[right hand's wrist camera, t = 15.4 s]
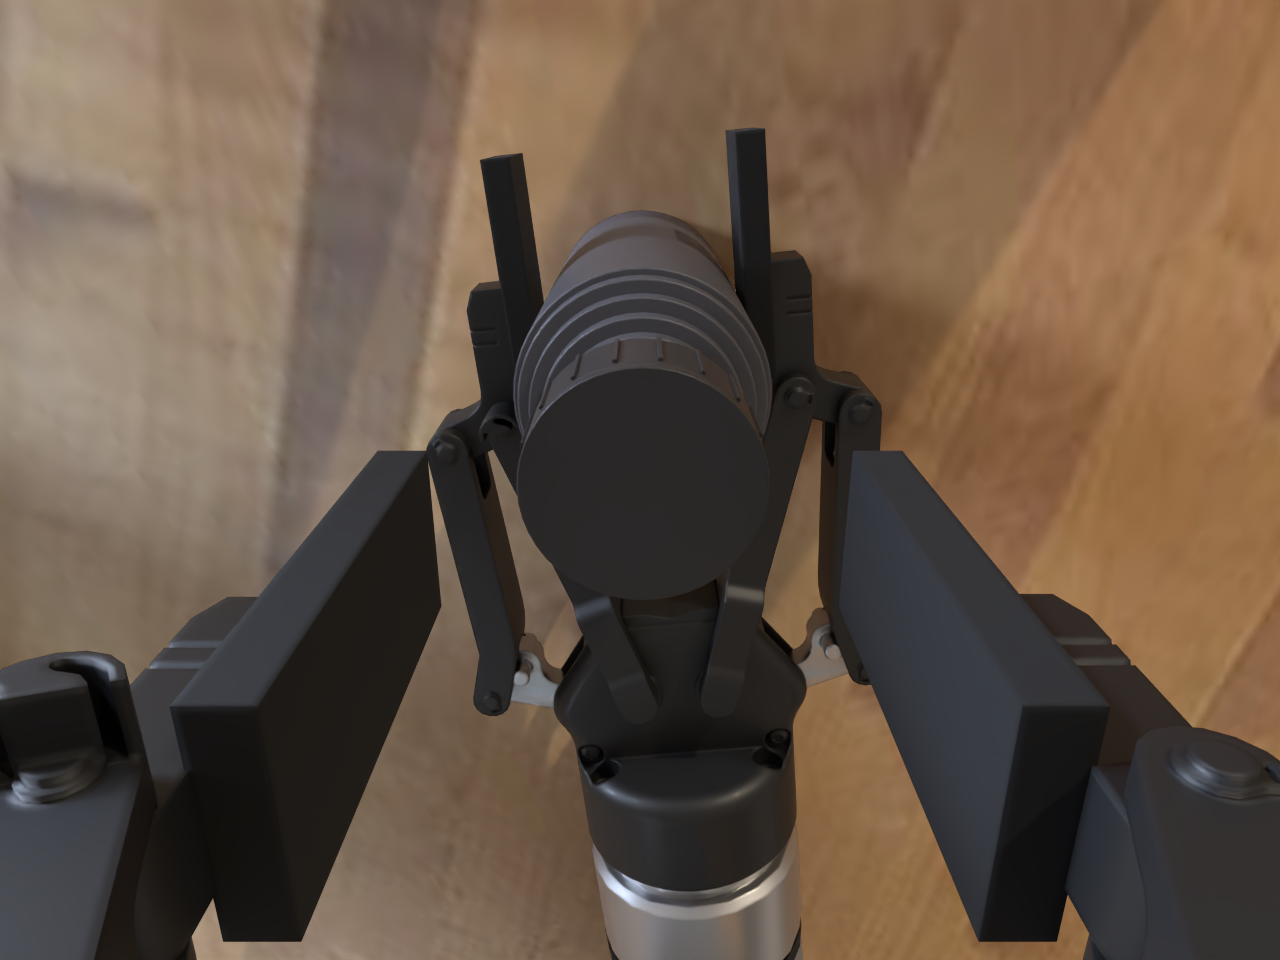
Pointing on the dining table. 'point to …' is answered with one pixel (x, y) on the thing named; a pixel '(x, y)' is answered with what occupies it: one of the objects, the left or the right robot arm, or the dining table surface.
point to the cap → (642, 470)
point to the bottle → (642, 307)
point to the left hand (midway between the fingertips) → (622, 144)
